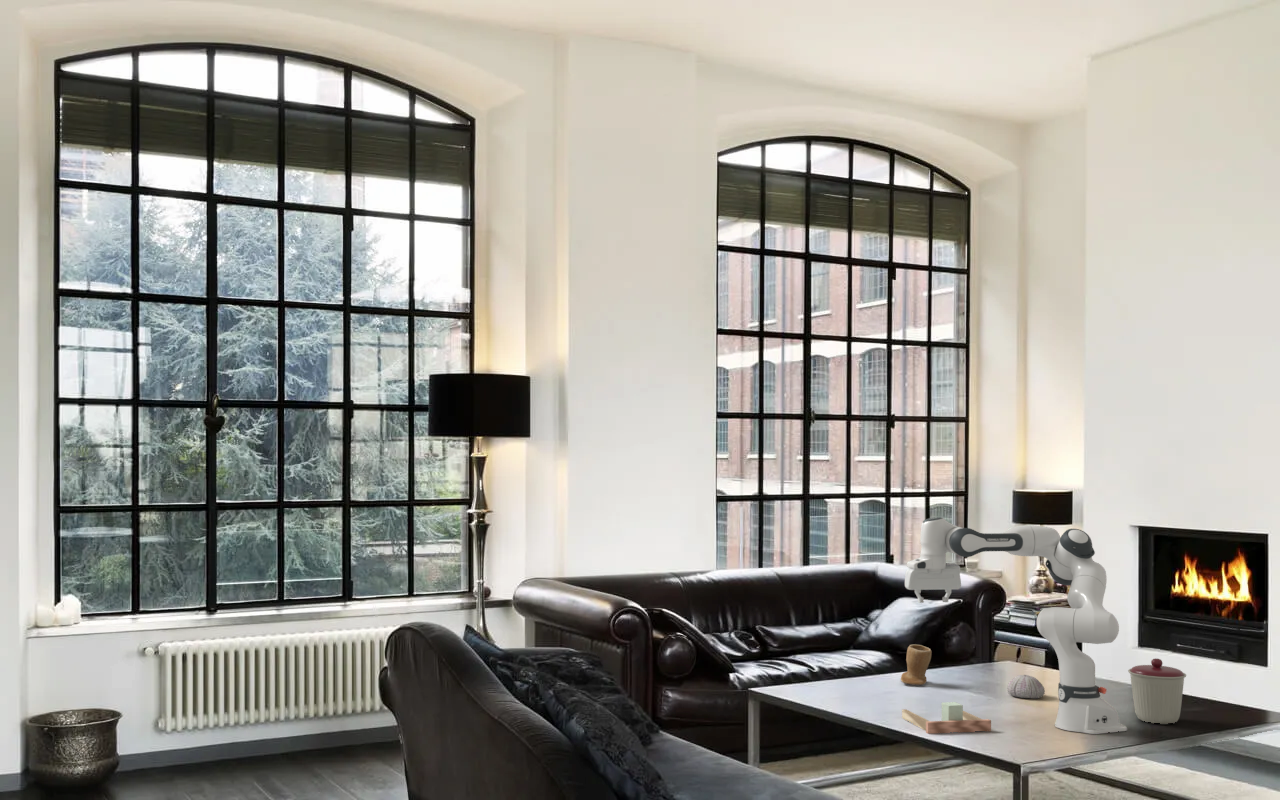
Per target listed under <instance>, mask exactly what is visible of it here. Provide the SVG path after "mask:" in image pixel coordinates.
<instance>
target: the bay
mask: <svg viewBox="0 0 1280 800" xmlns="http://www.w3.org/2000/svg"><path fill="white" fill-rule="evenodd" d="M902 718H903V719H902ZM901 719H902V720H904V719H905V720H904V721H906V720H907V721H906V722H908V721H909V722H908V723H910V722H911V723H910V724H912V723H913V724H912V725H914V726H916V727H917V726H918V728H919V727H920V729H922V731H925V733H926V734H929V735H930V734H931V735H932V734H954V733H953V732H958V733H976V732H975V731H985V732H992V720H991V719H988V718H986V719H982V718H980V717H978V716H976V715H974V714H972V713H969V712H967V711H965V710H963V720H955V721H942V720H935V721H933V720H932V721H930V720H928V719H926V718H924V717H923V716H920V715H918V714H917V713H914V712H912V711H910V710H908V709H906V708H905V709H901ZM950 732H952V733H950Z"/></svg>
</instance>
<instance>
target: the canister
mask: <svg viewBox="0 0 1280 800" xmlns="http://www.w3.org/2000/svg"><path fill="white" fill-rule="evenodd" d="M1150 663H1151V664H1141V665H1135V666H1133V667H1132V668H1129V669H1128V670H1127V671H1128V673H1129V674H1130V684H1131V691H1132V692H1131V693H1132V699H1133V706H1134V712H1135V715H1136V717H1137V719H1139V720H1140V721H1143V722H1144V721H1145V722H1146V723H1148V722H1151V723H1150V724H1154V723H1160V724H1159V725H1169V724H1168V723H1173V724H1176V723H1177V722H1178V721H1179V719H1180V717H1181V708H1182V703H1183V702H1182V700H1183V691H1184V684H1185V678H1186V677H1187V674H1186V673H1185V672H1183V671H1182V670H1181V669H1179V668H1175V667H1173V666H1172V667H1171V666H1166V665H1163V664H1164V663H1163V660H1162V659H1160V658H1157V657H1156V658H1153V659H1151V661H1150ZM1145 722H1144V723H1145ZM1175 722H1176V723H1175Z"/></svg>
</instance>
